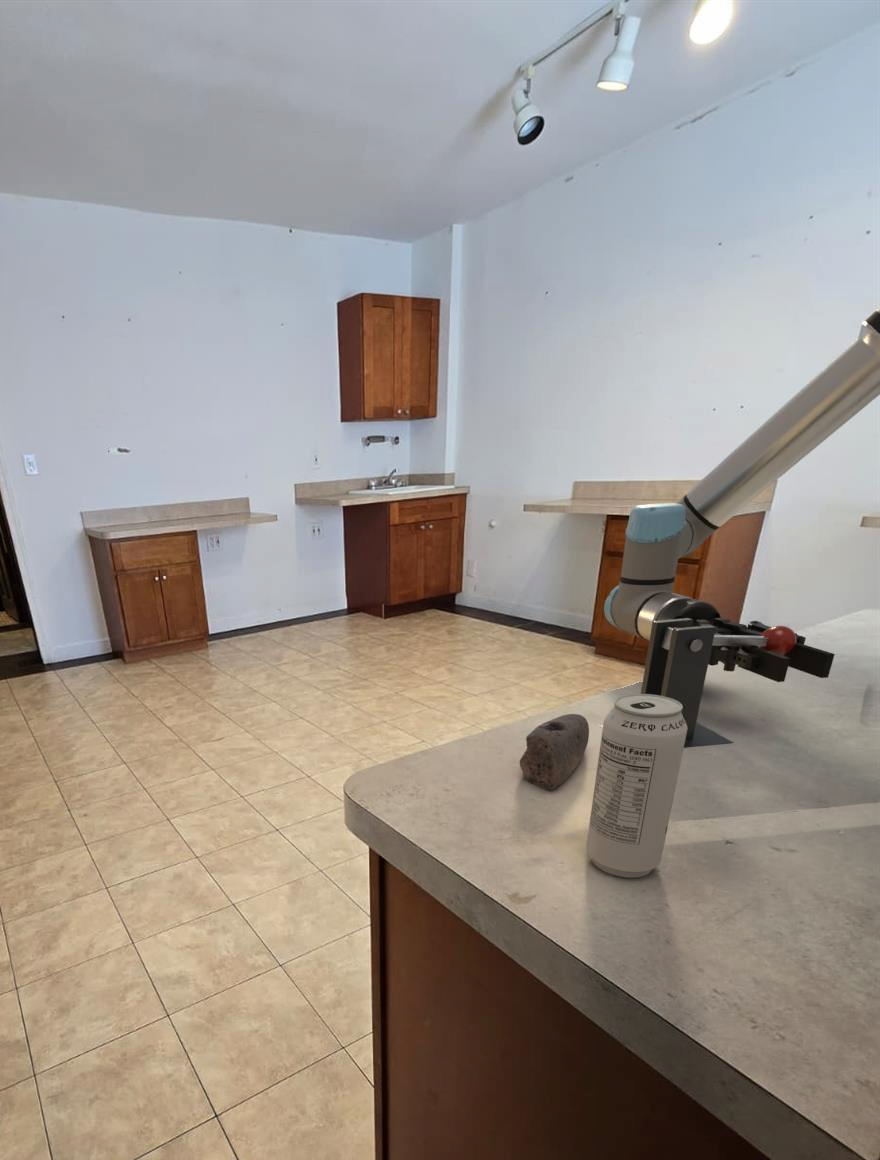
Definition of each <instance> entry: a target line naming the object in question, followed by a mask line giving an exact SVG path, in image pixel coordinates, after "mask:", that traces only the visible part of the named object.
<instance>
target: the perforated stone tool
mask: <svg viewBox="0 0 880 1160" xmlns="http://www.w3.org/2000/svg"><path fill="white" fill-rule="evenodd" d="M589 737H590V726H589V722H588V720H587V718H586V717H585V716H583V715H582V714H579V713H568V714H562V715H560V716H556V717H555V718H552V719H550V720H547V721H545V722H543V723H541V724H540V725H537V726H536V727H535V728H534V729H533V730H532V731H531V732H530V733H529V734H528V735H526V738H525V741H526V750H525V751H524V753H523V755H522V756H521V758H520V759H519V767H520V770H521V771H522V775H523V779H524V780H525V781H527V782H528V783H531V784H533V785H535V786H537V787H539V788H541V789H544V790H548V791H551V792H552V791H554V790H556V789H557V788H558V787H560V786H561V785H563V784H564V783H565V782H566V781H567V780H568V779H569V778H570V776H571V775H572V774H573V773H574V771H575V770H576V769H577V767H578V765H579V763H580V761H581V759H582V757H583V756H584V754H585V753H586V749H587V747H588V743H589V739H590V738H589Z"/></svg>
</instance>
